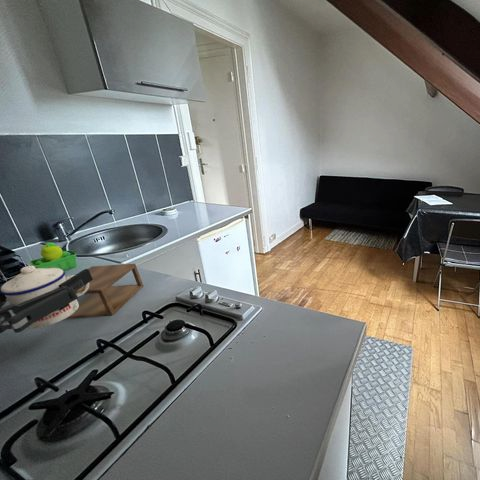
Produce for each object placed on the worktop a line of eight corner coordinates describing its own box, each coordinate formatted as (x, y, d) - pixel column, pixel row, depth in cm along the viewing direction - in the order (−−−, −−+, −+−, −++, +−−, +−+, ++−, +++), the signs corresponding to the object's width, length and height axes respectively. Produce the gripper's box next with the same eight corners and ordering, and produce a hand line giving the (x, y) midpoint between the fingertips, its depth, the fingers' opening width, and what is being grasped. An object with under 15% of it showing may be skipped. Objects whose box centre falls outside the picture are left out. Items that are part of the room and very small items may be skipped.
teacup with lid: (21, 337, 50) (-12, 285, 45) (24, 316, 56) (-5, 268, 51) (100, 307, 57) (78, 260, 53) (94, 292, 63) (74, 248, 59)
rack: (62, 318, 68) (48, 293, 65) (101, 288, 81) (91, 266, 78) (112, 315, 68) (100, 289, 65) (143, 286, 81) (135, 263, 78)
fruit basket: (76, 261, 102) (63, 234, 97) (83, 266, 97) (70, 238, 92) (35, 274, 93) (19, 245, 89) (41, 280, 88) (24, 250, 84)
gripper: (-5, 330, 36) (109, 257, 56) (-174, 341, 36) (2, 264, 56) (23, 369, 39) (121, 286, 59) (-133, 380, 38) (20, 293, 59)
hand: (64, 275), depth 58 cm, fingers closed on teacup with lid, 10 cm apart
